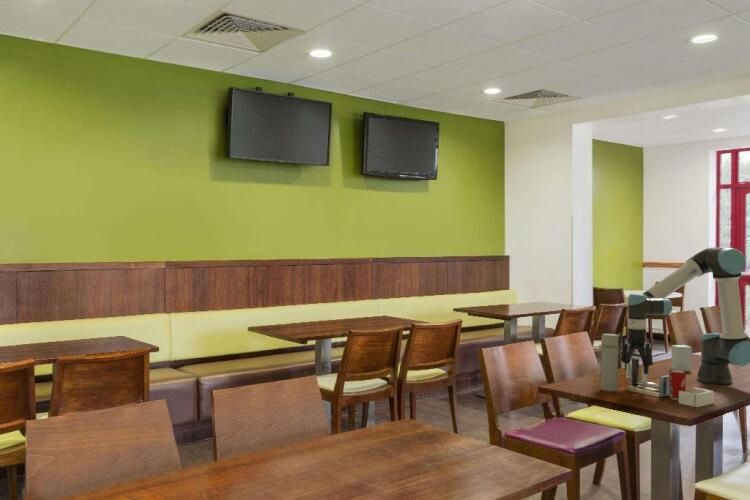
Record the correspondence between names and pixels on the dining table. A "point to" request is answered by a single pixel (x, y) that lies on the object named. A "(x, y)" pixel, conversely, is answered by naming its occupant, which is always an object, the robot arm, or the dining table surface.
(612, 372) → the water bottle
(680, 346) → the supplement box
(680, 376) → the beverage can
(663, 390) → the metal lever handle
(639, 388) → the panel
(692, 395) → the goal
